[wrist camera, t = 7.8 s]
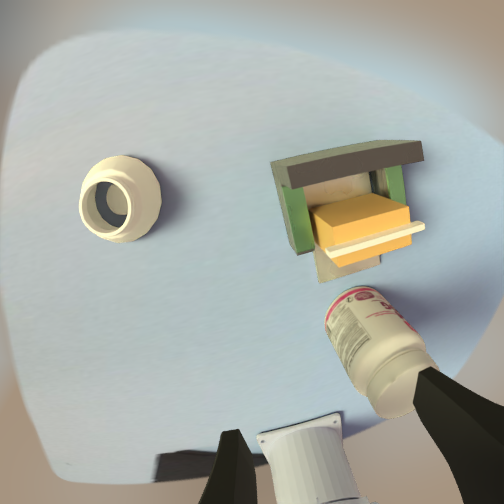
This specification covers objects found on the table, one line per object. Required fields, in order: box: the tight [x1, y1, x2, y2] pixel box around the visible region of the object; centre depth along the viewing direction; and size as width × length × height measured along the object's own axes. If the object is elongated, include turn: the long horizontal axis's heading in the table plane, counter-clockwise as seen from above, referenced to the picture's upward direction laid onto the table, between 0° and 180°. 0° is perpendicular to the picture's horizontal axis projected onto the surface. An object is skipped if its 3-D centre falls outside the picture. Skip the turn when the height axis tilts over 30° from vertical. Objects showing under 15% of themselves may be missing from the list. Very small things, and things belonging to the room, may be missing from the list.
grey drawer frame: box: [270, 140, 424, 283], centre depth 15 cm, size 8×7×4 cm
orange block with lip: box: [308, 193, 425, 267], centre depth 15 cm, size 2×5×5 cm, turn 105°
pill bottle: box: [324, 286, 440, 419], centre depth 16 cm, size 5×5×8 cm
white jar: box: [79, 155, 162, 243], centre depth 15 cm, size 5×3×5 cm
